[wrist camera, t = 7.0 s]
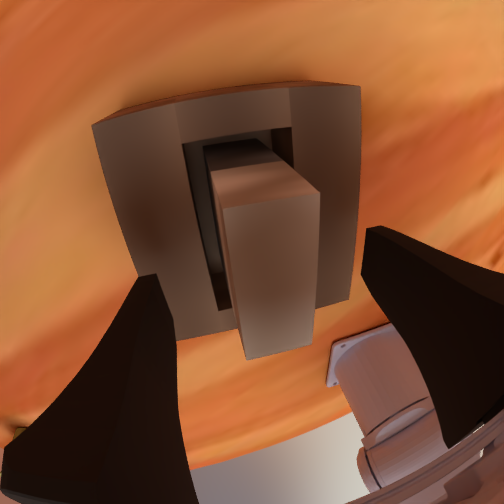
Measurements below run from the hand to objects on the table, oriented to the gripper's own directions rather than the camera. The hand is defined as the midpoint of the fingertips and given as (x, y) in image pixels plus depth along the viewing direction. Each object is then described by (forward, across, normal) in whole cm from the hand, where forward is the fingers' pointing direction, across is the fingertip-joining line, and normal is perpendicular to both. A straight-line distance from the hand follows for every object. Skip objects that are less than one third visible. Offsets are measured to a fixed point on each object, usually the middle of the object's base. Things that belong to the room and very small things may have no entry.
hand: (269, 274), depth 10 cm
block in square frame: (+8, 0, 0) cm, 8 cm away
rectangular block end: (+6, 0, 0) cm, 6 cm away
